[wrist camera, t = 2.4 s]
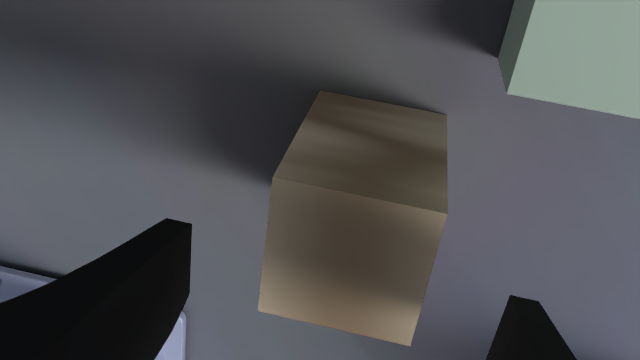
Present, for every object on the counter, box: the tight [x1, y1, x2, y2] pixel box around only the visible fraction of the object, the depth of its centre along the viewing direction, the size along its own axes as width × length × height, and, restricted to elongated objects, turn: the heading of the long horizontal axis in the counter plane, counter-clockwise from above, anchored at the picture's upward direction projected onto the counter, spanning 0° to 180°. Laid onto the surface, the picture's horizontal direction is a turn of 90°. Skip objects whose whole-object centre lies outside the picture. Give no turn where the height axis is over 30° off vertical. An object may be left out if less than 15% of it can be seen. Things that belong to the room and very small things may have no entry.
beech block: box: [258, 90, 448, 346], centre depth 17 cm, size 4×4×6 cm
